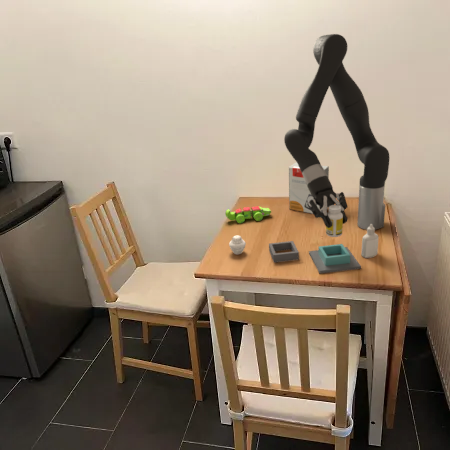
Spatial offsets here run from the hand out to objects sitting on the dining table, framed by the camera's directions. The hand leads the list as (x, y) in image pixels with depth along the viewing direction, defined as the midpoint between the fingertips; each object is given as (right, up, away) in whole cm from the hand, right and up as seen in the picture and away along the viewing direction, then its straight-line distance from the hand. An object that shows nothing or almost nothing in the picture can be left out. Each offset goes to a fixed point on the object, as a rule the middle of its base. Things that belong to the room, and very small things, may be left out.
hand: (337, 224), depth 148 cm
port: (+1, -13, +8) cm, 15 cm away
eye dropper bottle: (+13, -11, +9) cm, 20 cm away
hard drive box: (0, +6, +50) cm, 50 cm away
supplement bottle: (0, -3, +3) cm, 5 cm away
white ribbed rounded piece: (-32, -11, +19) cm, 39 cm away
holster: (-16, -11, +14) cm, 24 cm away
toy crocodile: (-27, +2, +45) cm, 53 cm away
